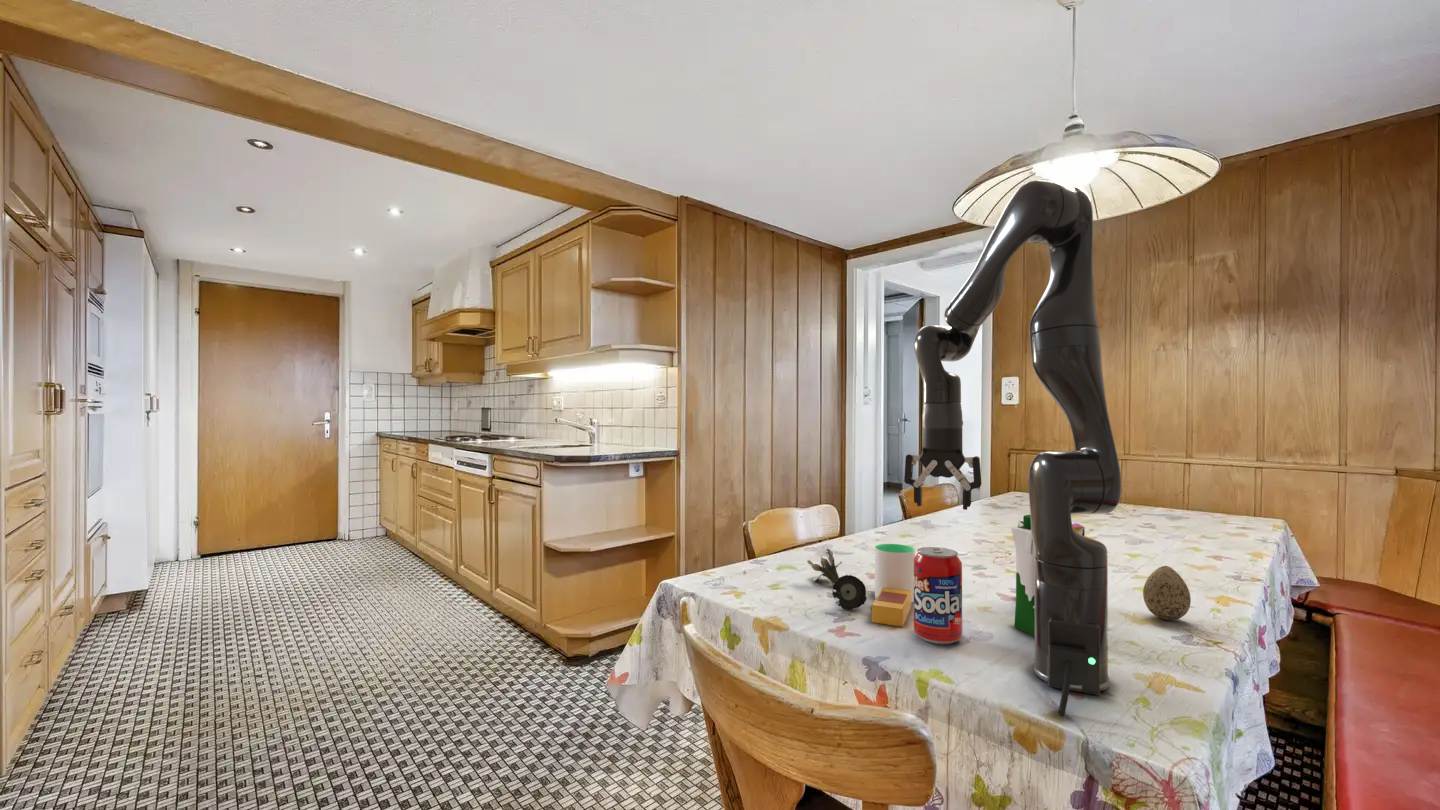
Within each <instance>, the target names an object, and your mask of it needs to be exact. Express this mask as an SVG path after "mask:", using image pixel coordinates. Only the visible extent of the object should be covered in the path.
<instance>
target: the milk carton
mask: <svg viewBox="0 0 1440 810" xmlns="http://www.w3.org/2000/svg"><path fill="white" fill-rule="evenodd" d="M1022 520H1023V526H1022V527H1018V526H1015V527H1011V533H1012V534H1011V535H1012V539H1013V544H1014V548H1015V610H1014V622H1013V623H1014V625H1013V626H1014V628H1016V629H1017V630H1020V631H1022V632H1025V633H1026V634H1028V635H1031V636H1033V637H1035V551H1034V543H1033V539H1032V534H1031V517H1030V514H1024V515H1023V518H1022Z"/></svg>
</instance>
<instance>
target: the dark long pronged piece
mask: <svg viewBox="0 0 1440 810" xmlns="http://www.w3.org/2000/svg"><path fill="white" fill-rule="evenodd" d="M825 554H826V557H827V558H823V556H820V564H818V563H813V562H812V561H811V559H808V560H807V561H806V563H807V564H809V565H810V567H811V569H813V570H814V571H816V572H820V574H819V575H818V576H817V577H814V578H812V579H811V580H812V581H813V582H814V583H815V582H817V581H818V580H819V579H821V577H823V578H827V580H829V581H830V582H831V584H833V585H832V590H831V591H832V592H831V593H832V594H831V595H832V597H833V598H834V599H833V600H835V599H836V598H837V599H838V601H836V602H835V604H837V606H838V607H841V609H843V610H846V611H853V610H854V609H858V608H860V607H861V606H863V605H865V603H866V601H867V599H868V597H867V596H866V595H867V588H866V585H865V583H864V582H863V581H862V580H861V579H860V578H858V577H857V576H855V575H852V574H845V575H842V576H839V573H838V571H837V568H838V567H839V566H840V565H841V564H843V561H840V562H838V563H837V564H835V557H834V551H832V550H831V549H830V548H826V550H825Z"/></svg>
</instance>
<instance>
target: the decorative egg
mask: <svg viewBox="0 0 1440 810" xmlns="http://www.w3.org/2000/svg"><path fill="white" fill-rule="evenodd" d="M1187 585H1188V584H1186V582H1185V580H1184V578H1182V576H1181V575H1180V574H1179V573H1178V572H1177V571H1176V570H1175V569H1174V568H1173V567H1171V566H1168V565H1162V566H1160V567H1158V568H1156V569H1155V570H1154V571H1153V572H1151V574H1150V575H1149V576H1148V577H1147V579H1146V581H1145V583H1144V585H1143V589H1142V597H1143V601H1144V604H1145V606H1146V608H1147V610H1149V612H1150V613H1151V614H1152V615H1154V616H1155V617H1156V618H1158V619H1161V620H1164V621H1175V620H1180V619H1181V618H1184V616H1186V614H1187V613H1188V611H1189V610H1190V607H1191V600H1192V599H1191V598H1192V597H1191V593H1190V590H1189V588H1188V586H1187Z"/></svg>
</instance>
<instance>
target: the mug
mask: <svg viewBox="0 0 1440 810" xmlns="http://www.w3.org/2000/svg"><path fill="white" fill-rule="evenodd" d="M915 556H916V549H915V548H914V547H913V546H910V545H906V544H901V543H900V544H899V543H880V544H876V545H874V598H875V599H876V598H877V596H878V595H879V593H880V592H881V590H882V589H883V587H885V588H893V589H901V590H909V591H911V604H914V558H915Z"/></svg>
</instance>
